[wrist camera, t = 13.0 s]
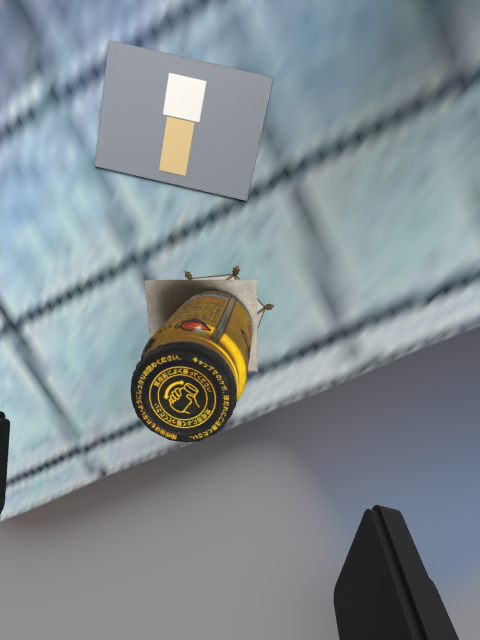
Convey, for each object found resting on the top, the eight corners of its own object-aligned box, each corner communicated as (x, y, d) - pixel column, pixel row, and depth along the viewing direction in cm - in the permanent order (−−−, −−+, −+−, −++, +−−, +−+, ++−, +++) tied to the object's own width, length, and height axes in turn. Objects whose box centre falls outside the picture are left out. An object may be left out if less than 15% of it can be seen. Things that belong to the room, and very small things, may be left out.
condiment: (257, 370, 31) (251, 463, 19) (152, 368, 31) (85, 457, 20) (257, 279, 29) (250, 320, 17) (145, 279, 30) (67, 320, 18)
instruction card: (110, 41, 33) (108, 39, 32) (273, 78, 32) (273, 76, 32) (96, 166, 35) (94, 165, 35) (246, 200, 35) (246, 200, 35)
